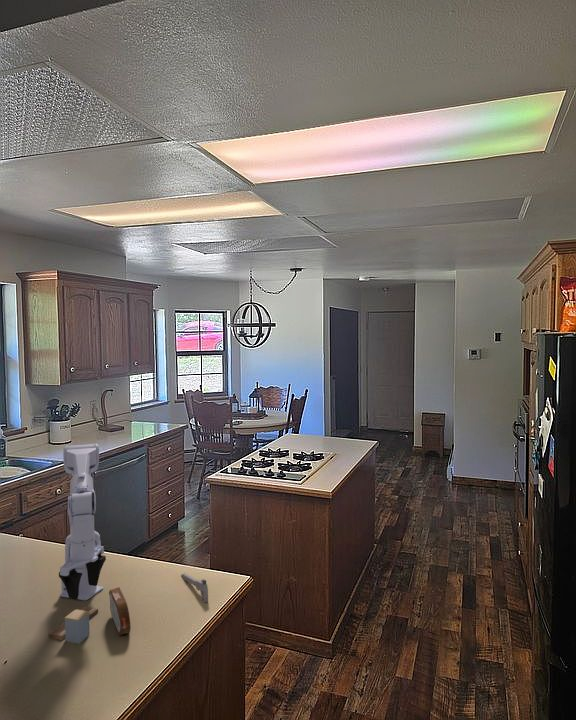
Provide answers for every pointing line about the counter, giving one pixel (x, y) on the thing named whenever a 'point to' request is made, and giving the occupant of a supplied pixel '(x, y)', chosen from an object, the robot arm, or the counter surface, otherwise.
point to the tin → (119, 611)
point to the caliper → (198, 586)
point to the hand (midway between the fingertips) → (83, 591)
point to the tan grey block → (77, 626)
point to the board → (60, 631)
